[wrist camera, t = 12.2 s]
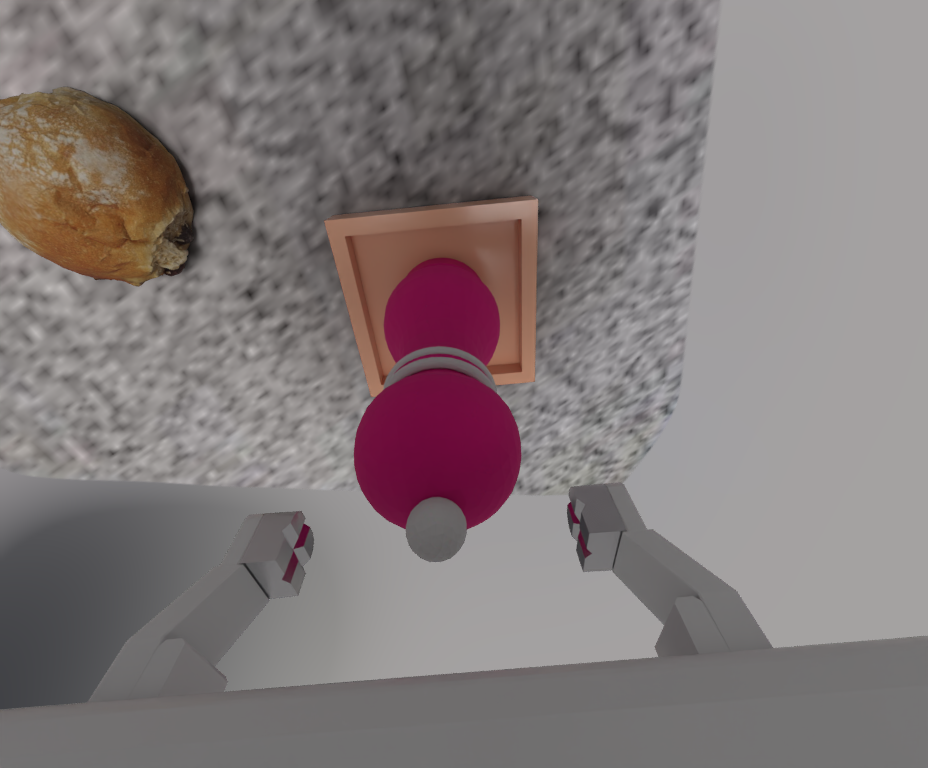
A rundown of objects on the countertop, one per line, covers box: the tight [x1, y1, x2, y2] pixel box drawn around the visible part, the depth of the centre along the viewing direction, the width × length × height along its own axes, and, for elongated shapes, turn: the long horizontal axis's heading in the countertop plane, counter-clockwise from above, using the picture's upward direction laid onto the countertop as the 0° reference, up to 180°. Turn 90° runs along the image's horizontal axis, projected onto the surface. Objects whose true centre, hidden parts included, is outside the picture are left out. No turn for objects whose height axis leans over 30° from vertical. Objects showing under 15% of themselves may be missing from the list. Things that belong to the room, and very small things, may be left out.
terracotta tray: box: [324, 195, 538, 397], centre depth 27 cm, size 13×13×2 cm
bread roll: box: [0, 87, 194, 286], centre depth 21 cm, size 10×10×8 cm
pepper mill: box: [354, 258, 521, 562], centre depth 19 cm, size 7×7×20 cm
